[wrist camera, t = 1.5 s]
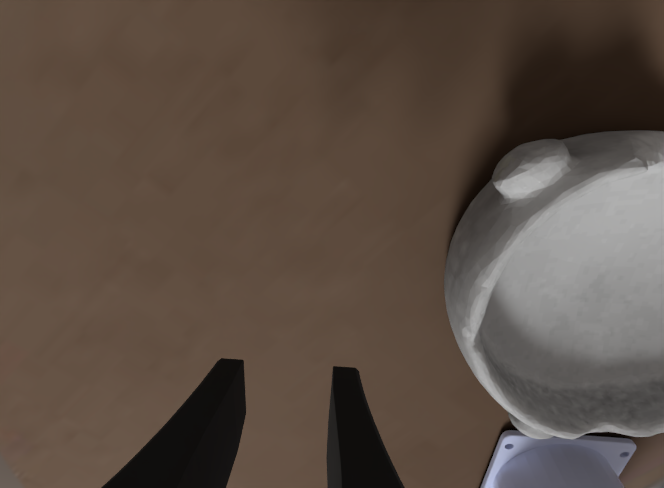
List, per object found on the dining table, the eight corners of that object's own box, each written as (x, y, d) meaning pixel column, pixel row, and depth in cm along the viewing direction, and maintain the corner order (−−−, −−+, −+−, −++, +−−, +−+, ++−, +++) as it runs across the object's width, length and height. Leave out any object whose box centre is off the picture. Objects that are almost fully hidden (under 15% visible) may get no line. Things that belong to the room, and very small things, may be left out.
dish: (433, 133, 16) (468, 164, 11) (798, 89, 15) (996, 104, 10) (435, 386, 22) (458, 470, 18) (690, 369, 21) (783, 454, 17)
